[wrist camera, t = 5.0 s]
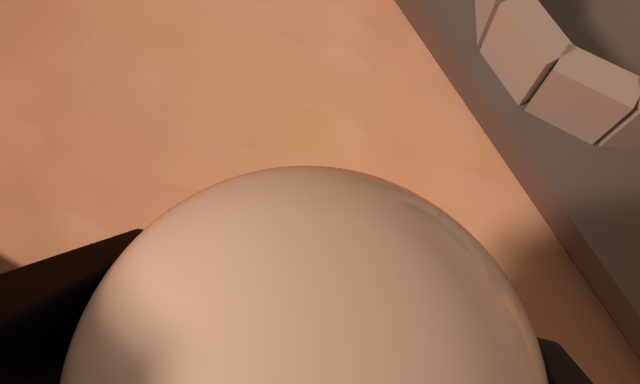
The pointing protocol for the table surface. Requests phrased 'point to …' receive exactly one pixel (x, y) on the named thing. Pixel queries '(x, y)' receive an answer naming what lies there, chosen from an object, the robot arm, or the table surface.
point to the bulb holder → (558, 119)
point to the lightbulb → (304, 292)
